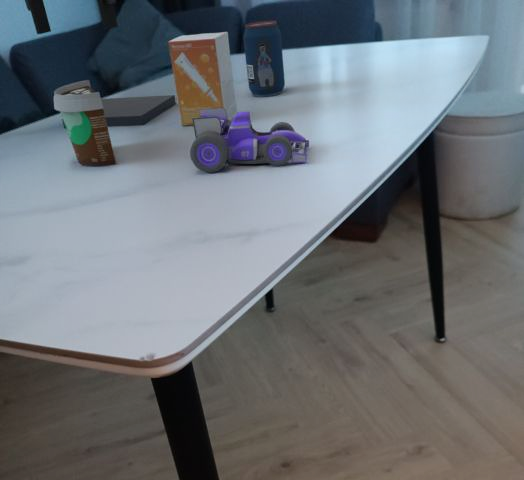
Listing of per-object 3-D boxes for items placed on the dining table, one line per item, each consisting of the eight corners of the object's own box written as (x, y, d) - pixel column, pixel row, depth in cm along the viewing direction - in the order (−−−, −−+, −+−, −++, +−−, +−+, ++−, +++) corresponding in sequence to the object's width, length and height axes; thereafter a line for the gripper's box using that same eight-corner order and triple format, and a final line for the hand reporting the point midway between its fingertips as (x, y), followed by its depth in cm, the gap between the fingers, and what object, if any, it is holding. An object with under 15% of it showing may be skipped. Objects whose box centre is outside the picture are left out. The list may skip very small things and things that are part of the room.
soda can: (272, 87, 119) (266, 19, 112) (292, 91, 114) (287, 20, 107) (243, 94, 116) (235, 25, 109) (262, 99, 111) (254, 27, 104)
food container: (66, 154, 94) (47, 86, 88) (105, 146, 95) (88, 79, 89) (74, 175, 84) (53, 100, 78) (117, 166, 85) (99, 92, 80)
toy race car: (306, 166, 76) (302, 114, 73) (193, 174, 79) (184, 123, 75) (310, 144, 84) (307, 96, 80) (207, 152, 86) (199, 105, 83)
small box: (181, 126, 100) (166, 41, 93) (195, 116, 105) (182, 34, 98) (226, 125, 98) (214, 37, 91) (238, 115, 103) (228, 30, 96)
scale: (58, 128, 109) (52, 108, 107) (98, 107, 120) (93, 89, 118) (143, 125, 104) (138, 104, 102) (176, 104, 115) (172, 84, 114)
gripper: (122, -149, 83) (153, 22, 96) (-11, -122, 93) (32, 31, 105) (90, -152, 78) (127, 30, 90) (-48, -124, 87) (2, 38, 99)
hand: (76, 30), depth 97 cm, fingers open, 13 cm apart
